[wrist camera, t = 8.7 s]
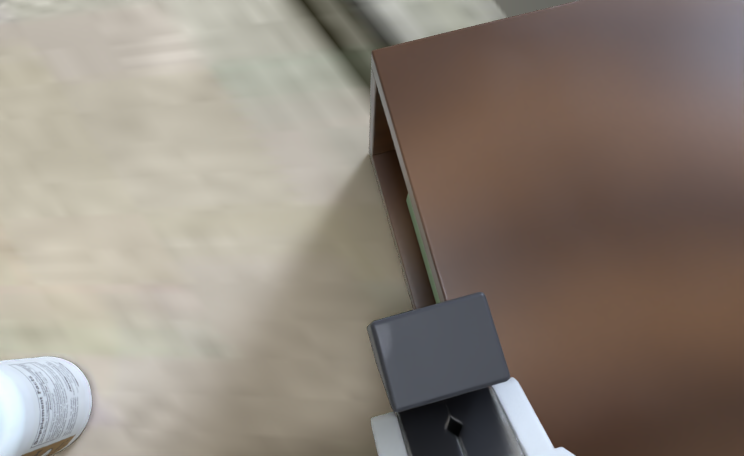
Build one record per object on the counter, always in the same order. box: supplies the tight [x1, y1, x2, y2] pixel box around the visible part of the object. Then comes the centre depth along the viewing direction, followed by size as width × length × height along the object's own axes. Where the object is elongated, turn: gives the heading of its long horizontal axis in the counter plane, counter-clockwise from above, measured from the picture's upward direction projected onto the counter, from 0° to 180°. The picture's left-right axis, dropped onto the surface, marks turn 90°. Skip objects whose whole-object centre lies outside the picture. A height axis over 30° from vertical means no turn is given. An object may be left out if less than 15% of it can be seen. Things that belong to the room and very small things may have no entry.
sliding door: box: [367, 194, 510, 412], centre depth 17 cm, size 7×4×16 cm, turn 15°
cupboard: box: [369, 0, 744, 456], centre depth 21 cm, size 16×14×10 cm
